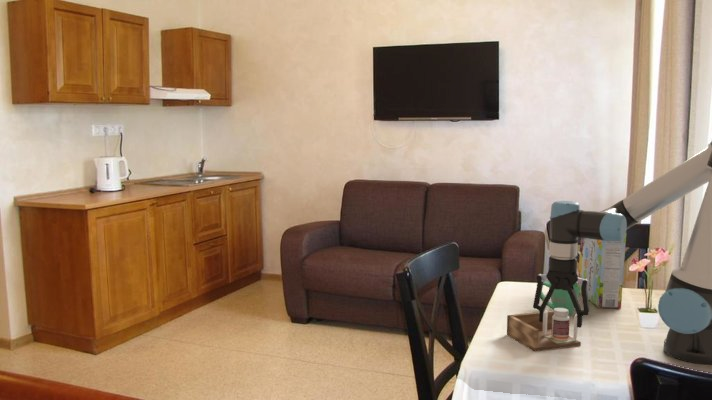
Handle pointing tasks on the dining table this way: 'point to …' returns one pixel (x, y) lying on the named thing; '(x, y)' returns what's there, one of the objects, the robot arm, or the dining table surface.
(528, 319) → the wooden corner tray
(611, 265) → the snack box
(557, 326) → the pill bottle
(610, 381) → the dining table surface
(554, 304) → the mug
